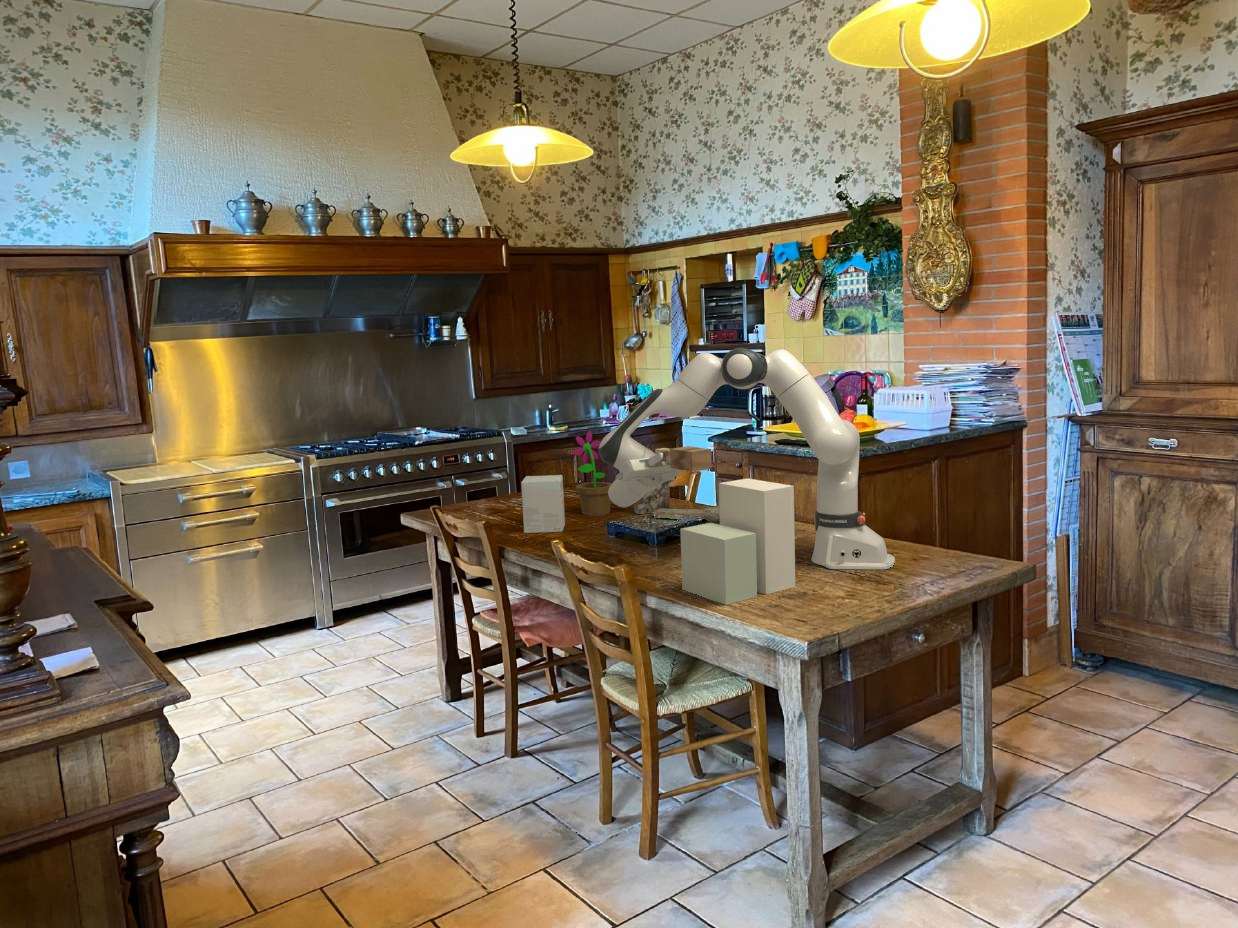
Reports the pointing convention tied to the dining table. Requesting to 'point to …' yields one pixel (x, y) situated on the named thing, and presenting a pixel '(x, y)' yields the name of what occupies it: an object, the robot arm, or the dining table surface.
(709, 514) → the long grey stone
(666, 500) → the stone block
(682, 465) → the mallet
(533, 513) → the supplement box
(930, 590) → the dining table surface
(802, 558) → the dining table surface
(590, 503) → the flowerpot
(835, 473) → the robot arm
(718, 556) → the stand
